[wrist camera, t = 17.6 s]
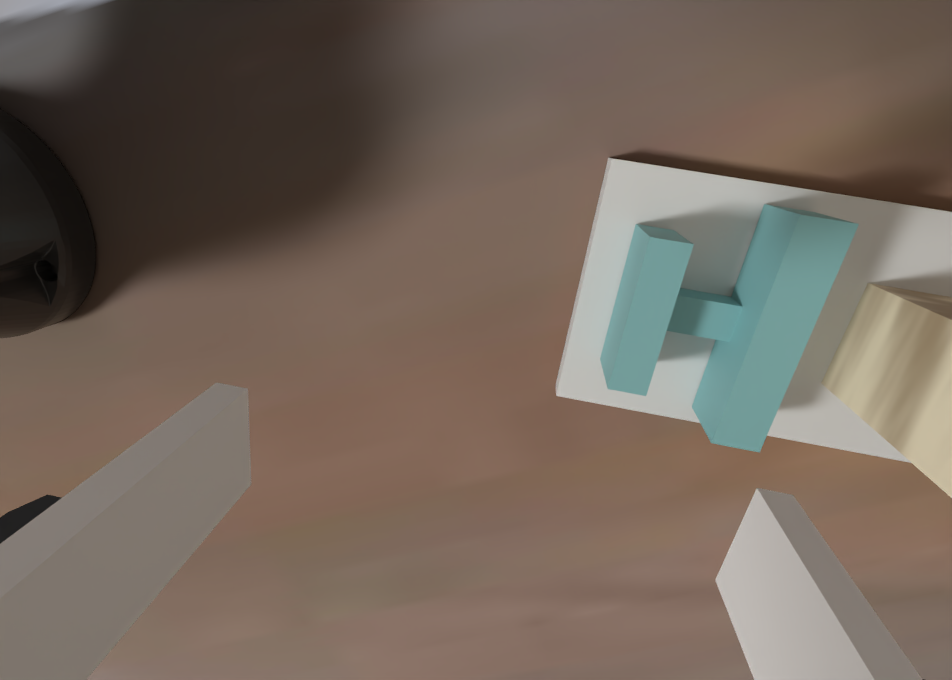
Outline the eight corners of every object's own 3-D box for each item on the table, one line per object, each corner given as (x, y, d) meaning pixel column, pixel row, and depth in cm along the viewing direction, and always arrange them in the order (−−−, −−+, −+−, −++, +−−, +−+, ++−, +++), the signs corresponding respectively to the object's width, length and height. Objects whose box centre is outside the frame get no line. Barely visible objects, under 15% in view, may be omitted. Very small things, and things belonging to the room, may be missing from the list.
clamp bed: (555, 384, 32) (557, 430, 27) (608, 157, 27) (623, 161, 22) (957, 460, 31) (1038, 522, 26) (1098, 234, 26) (1235, 258, 20)
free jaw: (592, 388, 31) (598, 421, 27) (645, 185, 26) (662, 192, 22) (733, 414, 30) (759, 452, 26) (814, 211, 25) (859, 224, 22)
